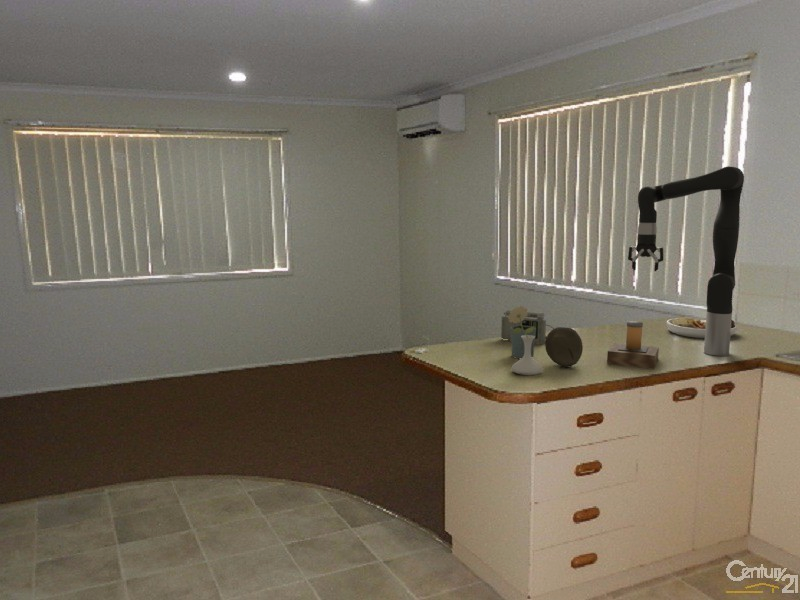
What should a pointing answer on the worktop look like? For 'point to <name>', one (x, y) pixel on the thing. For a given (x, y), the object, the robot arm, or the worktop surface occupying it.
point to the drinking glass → (520, 341)
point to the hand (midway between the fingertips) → (644, 270)
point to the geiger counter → (536, 322)
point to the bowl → (692, 327)
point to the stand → (633, 356)
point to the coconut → (564, 346)
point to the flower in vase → (526, 362)
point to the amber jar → (634, 335)
